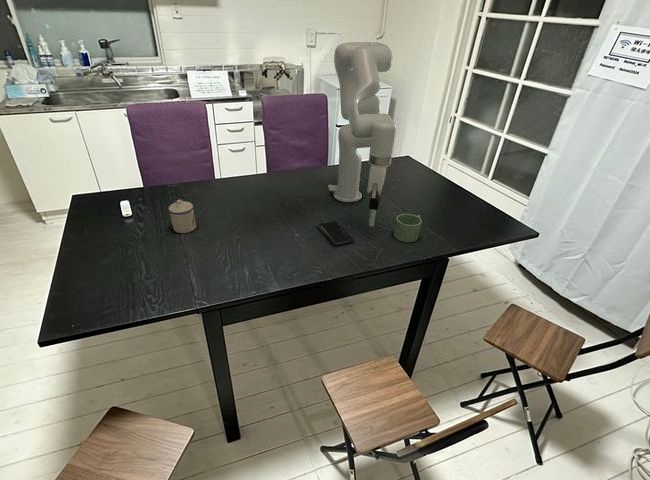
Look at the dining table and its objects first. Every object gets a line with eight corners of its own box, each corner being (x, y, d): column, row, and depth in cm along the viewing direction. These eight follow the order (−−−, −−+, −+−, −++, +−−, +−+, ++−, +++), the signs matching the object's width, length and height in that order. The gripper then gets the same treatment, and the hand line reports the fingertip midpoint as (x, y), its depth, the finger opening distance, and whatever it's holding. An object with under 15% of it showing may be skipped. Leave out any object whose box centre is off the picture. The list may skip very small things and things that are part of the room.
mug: (409, 245, 139) (412, 228, 135) (388, 235, 144) (391, 219, 140) (427, 233, 146) (430, 217, 141) (407, 224, 151) (410, 208, 147)
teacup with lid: (199, 230, 146) (194, 202, 139) (175, 236, 142) (169, 208, 135) (191, 217, 154) (186, 190, 147) (169, 222, 151) (162, 195, 144)
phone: (334, 243, 137) (318, 224, 148) (333, 246, 137) (318, 226, 148) (353, 239, 139) (336, 220, 150) (353, 242, 140) (336, 223, 151)
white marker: (368, 226, 143) (372, 190, 135) (369, 223, 145) (373, 188, 136) (373, 226, 143) (378, 191, 134) (374, 224, 145) (379, 189, 136)
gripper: (372, 149, 135) (366, 196, 146) (365, 166, 123) (359, 216, 134) (393, 152, 133) (386, 199, 145) (388, 169, 121) (381, 219, 133)
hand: (373, 207), depth 139 cm, fingers closed on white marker, 2 cm apart
